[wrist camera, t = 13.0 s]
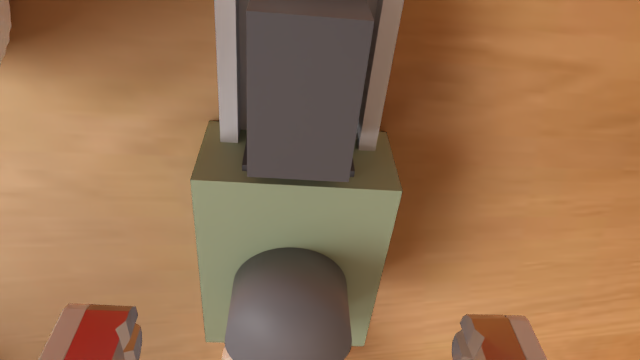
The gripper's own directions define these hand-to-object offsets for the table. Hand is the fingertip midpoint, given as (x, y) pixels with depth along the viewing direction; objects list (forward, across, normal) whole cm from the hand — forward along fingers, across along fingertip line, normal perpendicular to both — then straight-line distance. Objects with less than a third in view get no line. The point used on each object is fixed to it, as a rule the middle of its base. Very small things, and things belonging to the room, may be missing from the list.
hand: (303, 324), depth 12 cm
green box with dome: (+18, 0, -6) cm, 19 cm away
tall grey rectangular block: (+17, 0, 0) cm, 17 cm away
